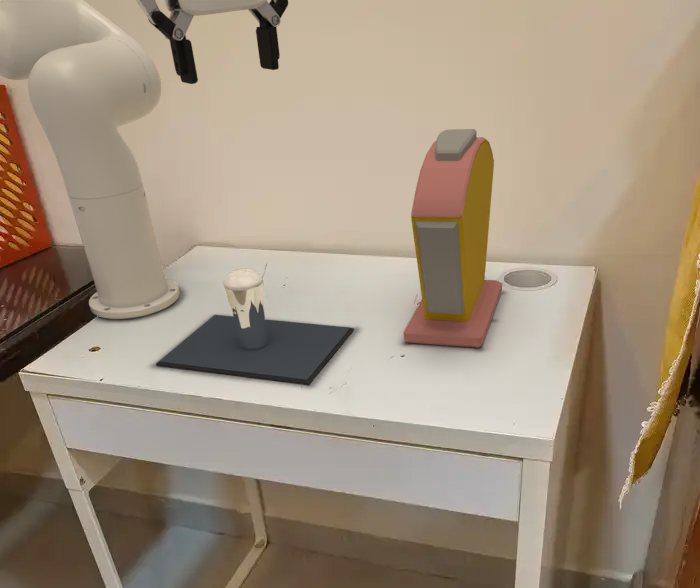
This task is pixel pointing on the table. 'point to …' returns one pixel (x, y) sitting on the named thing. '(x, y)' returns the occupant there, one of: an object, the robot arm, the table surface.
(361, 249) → the table surface
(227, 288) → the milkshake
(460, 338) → the clock
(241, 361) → the mouse pad
